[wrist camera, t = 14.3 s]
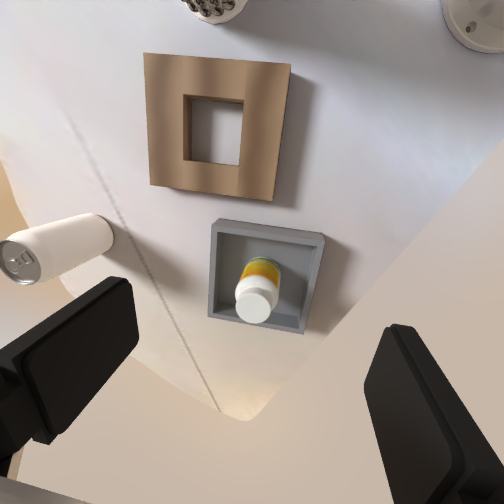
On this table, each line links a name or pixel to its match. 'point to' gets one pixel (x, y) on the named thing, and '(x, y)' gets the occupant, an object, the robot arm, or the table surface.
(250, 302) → the supplement bottle
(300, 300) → the tray
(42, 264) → the can
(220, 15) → the decorative candle
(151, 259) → the table surface
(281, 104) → the brown wooden square frame
